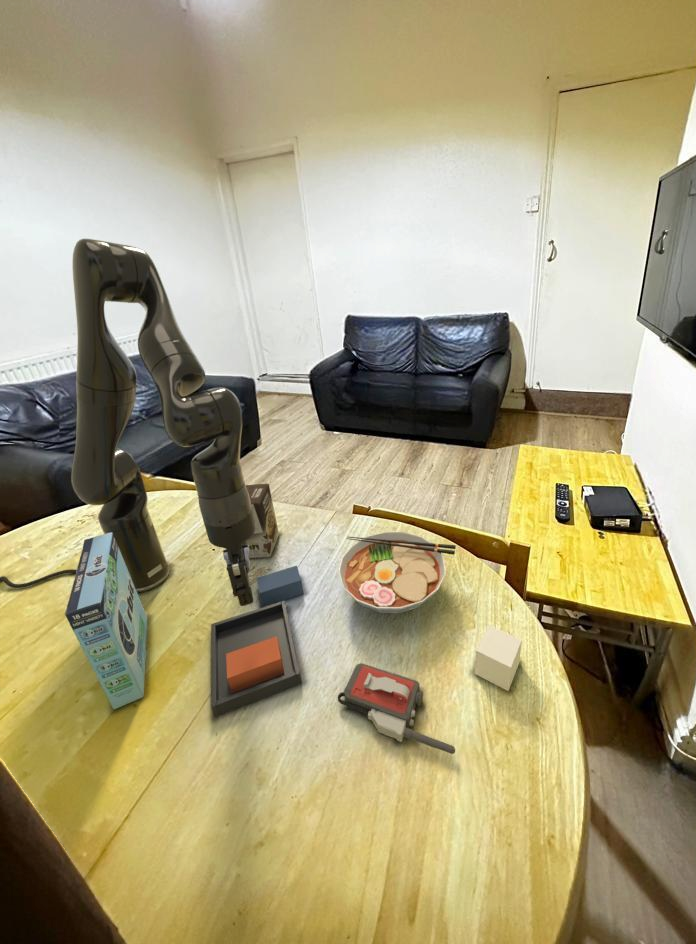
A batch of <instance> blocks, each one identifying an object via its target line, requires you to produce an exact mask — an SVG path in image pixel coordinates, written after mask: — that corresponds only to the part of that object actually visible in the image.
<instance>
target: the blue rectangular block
mask: <svg viewBox="0 0 696 944" xmlns="http://www.w3.org/2000/svg"><path fill="white" fill-rule="evenodd" d="M256 582H257V584H256V585H257V591H258V596H259V600H260V605H261V608H262V607H265V606H269V605H272V604H275V603H278V602H281V601H286V600H289V599H291V598H292V599H293V598H294V597H297V596H301V595H304V594H305V593H304V588H303V584H302V578H301V575H300V571H299V568H298V565H294V566H291V567H287V568H284V569H281V570H277V571H274V572H271V573H267V574H264V575H260V576H257V577H256Z"/></svg>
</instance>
